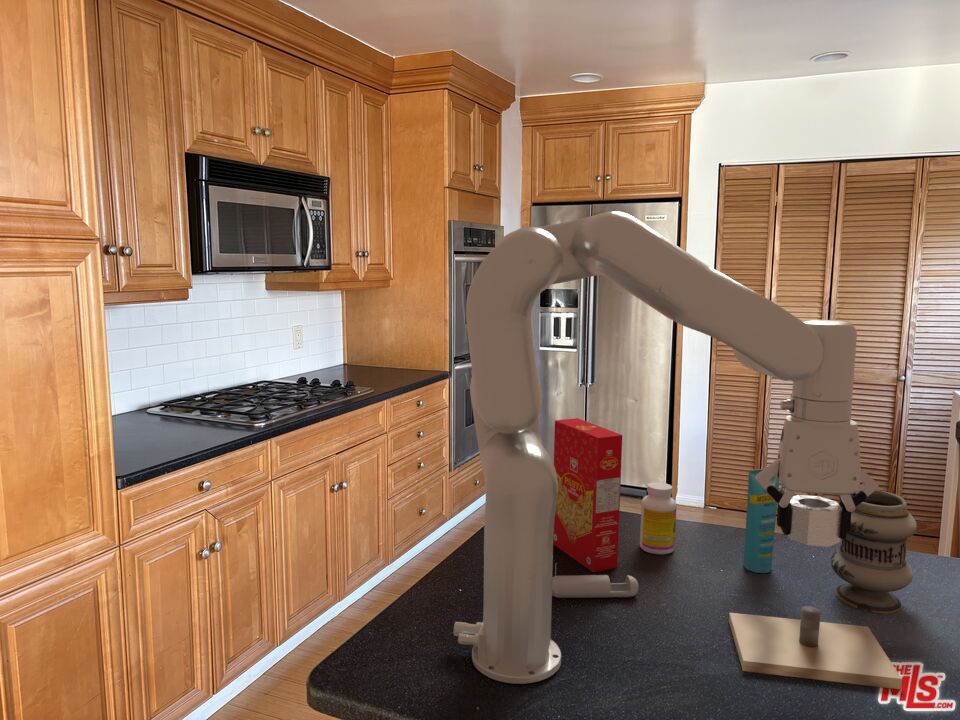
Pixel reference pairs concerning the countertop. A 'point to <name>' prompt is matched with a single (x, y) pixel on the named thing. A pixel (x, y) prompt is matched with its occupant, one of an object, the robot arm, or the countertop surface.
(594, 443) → the food packaging
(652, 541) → the supplement bottle
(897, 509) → the apothecary jar
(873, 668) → the base
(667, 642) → the countertop surface
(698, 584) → the countertop surface
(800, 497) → the steel hub
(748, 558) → the tube
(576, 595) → the torpedo
